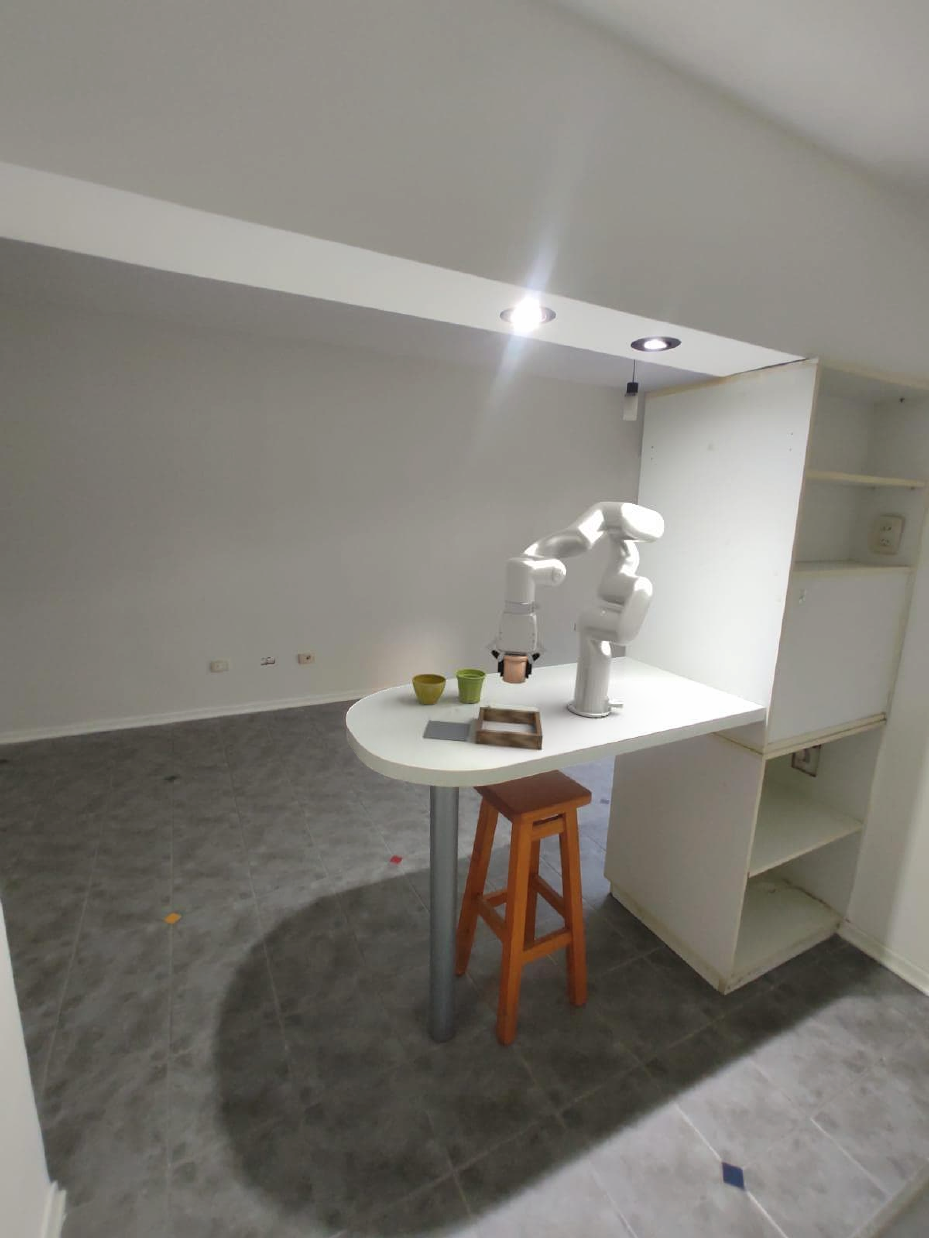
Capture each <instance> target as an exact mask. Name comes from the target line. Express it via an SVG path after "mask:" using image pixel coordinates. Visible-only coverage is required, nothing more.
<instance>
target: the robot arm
mask: <svg viewBox="0 0 929 1238" xmlns="http://www.w3.org/2000/svg"><path fill="white" fill-rule="evenodd" d="M664 530H665V523H664V520H663V518H662V516H661V514H659V513H658V512H657V511H654V510H652V509H651V510H650V509H649V508H646V507H642V506H641V505H636V504H634V503H630V502H624V501H623V502H621V501H618V502H617V501H600V502H596V503H595V504H593V505H592V506H590V507H589V508H588V509H587V510H586V511H584V513H582V514H581V515H580V516H579V517H578V518H577V519H576V520H574V521H573V522H572V523H570V525H569V526H567V527H566V528H563V529H560V530H558V531H556V532H554V533H552V534H549V535H547V536H544V537H542V538H540V539H538V540H536V541H534V542H533V543H531V544H530V545H529V546H528V547H527V548H525V549H524V551H522V552H521V553H520V554H519V555H518V556H517V557H511V558H509V559H508V560H507V561H506V564H505V576H504V592H503V593H504V594H503V595H504V596H503V610H500V612H499V616H498V622H497V631H496V635H495V636H494V637H493V638H492V639H491V640H490V641H489V642H487V643H486V644H485V648H486V650H487V651H488V652H490V654H491V655H492V656H493V657H494V658H495V660H496V661H497V673H499V677H500V678H502V677H503V663H504V662H503V655H504V654H505V652H517V653H526V655H527V656H528V660H527V665H526V679H527V680H528V679H530V678H529V677H530V676H532V672H533V664H534V663H535V662H536V661H537V660H538V659H539V658H540V657H541V656H542V655H544V654H545V653H546V652H547V648H546V646H544V644H543V643H542V642H541V641H540V640H539V638H538V621H537V619H538V618H537V613H536V612H535V611H539V610H540V605H541V604H539V603H536V602H535V595H536V594H535V593H536V587H539V588H555V587H558V586H559V585H561V584H562V583H563V581H564V580H565V578H566V574H567V569H566V566H565V565H564V563H563V562H562V561H561V559H567V558H573V557H577V556H582V555H585V554H587V553H589V552H590V551H591V550H592V549H593V547H595V546H596V545H597V544H598V543H599V542H600V541H602V539H604V538H605V537H606V536H607V537H608V542H609V545H610V546H609V548H610V554H609V557H608V561H607V564H606V566H605V568H604V569H603V571H602V572H603V573H602V575H601V577H600V580H599V583H598V585H597V588H596V597H597V598H598V600H600V601H601V602H603V603H604V604H606V605H607V604H608V605H611V606H616V607H621V610H620V609H615V608H611V607H607V606H602V605H596V604H595V605H588V606H586V607H584V608H583V609H582V610H581V611H580V613H579V615H578V619H577V625H578V626H577V627H578V638H579V639H578V641H579V642H578V656H577V666H576V673H575V674H576V675H575V684H574V685H575V687H574V693H573V699H572V700H570V701H569V702H568V703H567V708H568V709H567V710H569V711H570V712H571V713H574V714H575V715H578V716H581V715H582V716H581V717H586V716H587V718H595V717H597V718H602V717H601V716H604V715H608V714H609V713H610V712H611V711H612V708H615V709H623V707H624V702H623V701H618V699H616V698H613V699H612V698H609V697H608V691H609V684H610V683H609V681H610V675H611V674H610V673H611V666H612V665H611V664H612V656H613V655H612V653H613V652H612V648H611V645H610V644H612V645H617V646H622V647H626V646H629V645H631V644H632V643H634V641H635V640H636V639H637V636H638V634H639V632H640V629H641V627H642V625H643V624H644V623H643V622H644V620H645V618H646V616H647V613H648V610H649V609H650V605H651V603H652V601H653V600H652V599H653V594H654V593H653V585H652V583H651V581H650V580H649V579H648V578H646V577H643V576H641V575H636V572H637V570H638V567H639V564H640V556H639V552H638V549H637V547H636V545H635V542H636V543H637V542H638V543H644V544H645V543H646V544H649V543H650V544H651V543H654V542H655V543H656V542H657V541H658V540H659V539H660V538H661V537H662V536H663V533H664ZM495 645H496V648H495V647H494V646H495ZM537 648H538V650H537V651H536V649H537ZM496 649H497V650H496ZM535 651H536V652H535ZM611 713H612V712H611ZM611 713H610V714H611ZM610 714H609V715H610ZM609 715H608V716H609ZM599 716H600V717H599Z"/></svg>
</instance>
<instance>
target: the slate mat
mask: <svg viewBox="0 0 929 1238" xmlns="http://www.w3.org/2000/svg"><path fill="white" fill-rule="evenodd" d="M470 726H471V723H465V722H454V721H441V720H431V719H429V721H428V724H427V725H426V728H425V731H424V734H423V736H422V738H423V739H432V740H442V739H443V740H444V741H454V742H455V741H456V742H467V740H468V735H469V730H470ZM443 740H442V741H443Z"/></svg>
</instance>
